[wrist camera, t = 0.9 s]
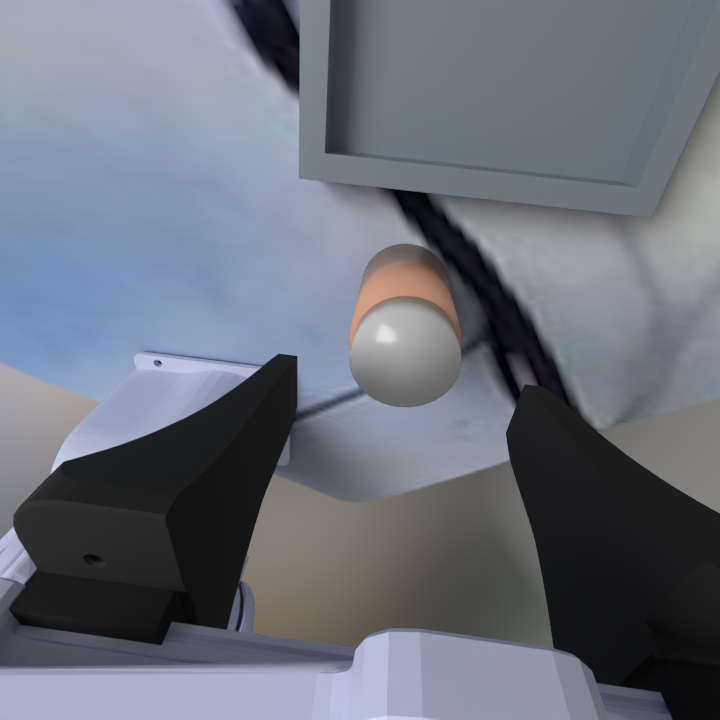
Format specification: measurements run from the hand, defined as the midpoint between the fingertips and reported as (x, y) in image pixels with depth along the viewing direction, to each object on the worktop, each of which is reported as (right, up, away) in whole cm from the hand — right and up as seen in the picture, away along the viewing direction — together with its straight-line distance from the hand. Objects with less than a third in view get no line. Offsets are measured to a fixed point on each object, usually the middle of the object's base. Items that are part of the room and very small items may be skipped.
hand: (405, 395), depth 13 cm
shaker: (+1, +5, +8) cm, 9 cm away
